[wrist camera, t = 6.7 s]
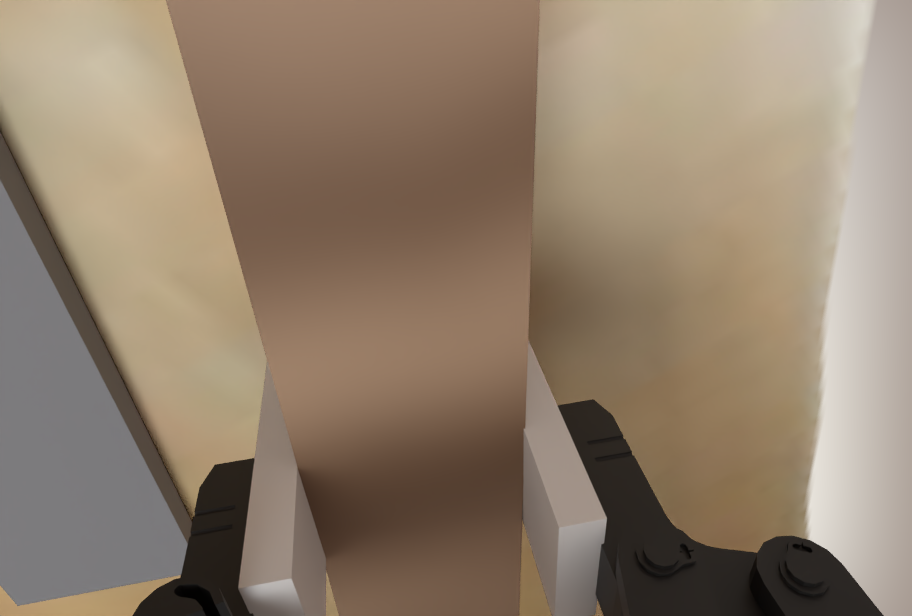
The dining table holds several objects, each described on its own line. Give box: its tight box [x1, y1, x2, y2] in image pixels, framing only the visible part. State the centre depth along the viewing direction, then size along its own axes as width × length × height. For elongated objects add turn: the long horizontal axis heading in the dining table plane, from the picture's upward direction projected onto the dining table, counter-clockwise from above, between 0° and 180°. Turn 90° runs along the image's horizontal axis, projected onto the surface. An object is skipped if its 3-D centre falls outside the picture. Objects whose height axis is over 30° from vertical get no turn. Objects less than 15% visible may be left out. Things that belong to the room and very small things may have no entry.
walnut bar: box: [166, 0, 540, 616], centre depth 14 cm, size 20×4×5 cm, turn 2°
